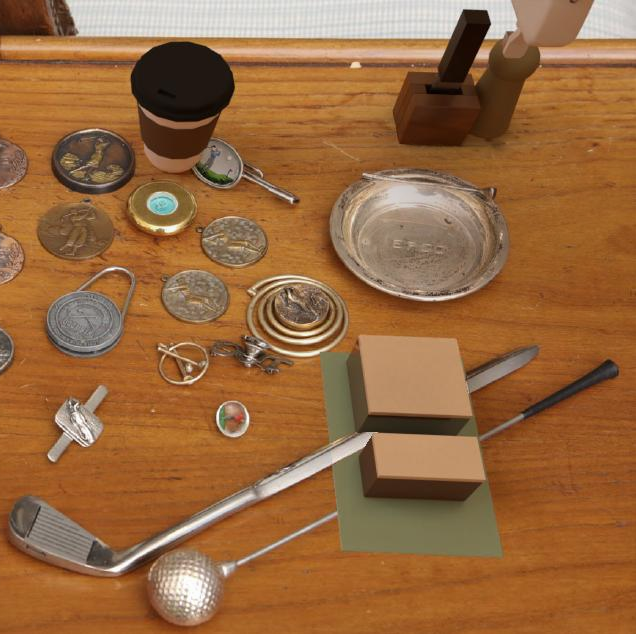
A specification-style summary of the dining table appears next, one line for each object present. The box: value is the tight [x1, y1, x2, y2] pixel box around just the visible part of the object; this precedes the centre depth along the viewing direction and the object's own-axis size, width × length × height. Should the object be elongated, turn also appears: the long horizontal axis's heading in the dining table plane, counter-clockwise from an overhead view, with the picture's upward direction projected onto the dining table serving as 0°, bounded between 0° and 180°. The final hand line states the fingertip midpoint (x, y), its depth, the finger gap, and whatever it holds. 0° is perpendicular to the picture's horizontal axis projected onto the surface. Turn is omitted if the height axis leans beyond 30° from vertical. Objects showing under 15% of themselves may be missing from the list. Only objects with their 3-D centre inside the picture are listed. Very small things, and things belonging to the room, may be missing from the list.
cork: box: [468, 38, 542, 139], centre depth 103 cm, size 6×6×11 cm
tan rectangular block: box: [359, 433, 486, 501], centre depth 81 cm, size 9×4×5 cm, turn 88°
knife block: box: [392, 70, 481, 147], centre depth 105 cm, size 7×6×6 cm
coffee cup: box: [129, 40, 236, 174], centre depth 100 cm, size 11×11×12 cm
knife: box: [428, 8, 492, 95], centre depth 100 cm, size 3×2×16 cm
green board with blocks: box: [319, 334, 505, 559], centre depth 83 cm, size 14×20×6 cm
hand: (498, 17), depth 84 cm, fingers open, 8 cm apart
